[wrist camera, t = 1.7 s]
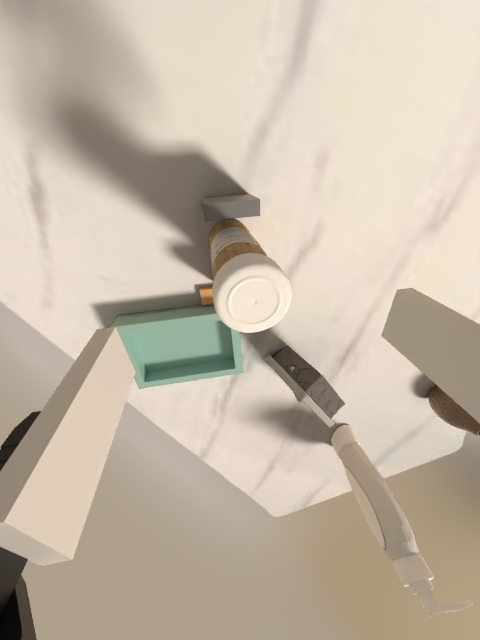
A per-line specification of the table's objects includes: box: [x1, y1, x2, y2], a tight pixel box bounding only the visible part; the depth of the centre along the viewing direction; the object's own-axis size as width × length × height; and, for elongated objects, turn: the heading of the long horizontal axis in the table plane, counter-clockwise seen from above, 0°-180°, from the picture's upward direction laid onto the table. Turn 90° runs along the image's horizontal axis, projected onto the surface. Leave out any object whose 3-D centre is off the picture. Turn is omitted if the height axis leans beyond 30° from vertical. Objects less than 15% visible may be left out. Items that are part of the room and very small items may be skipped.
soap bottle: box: [331, 425, 473, 617], centre depth 40 cm, size 13×8×24 cm, turn 12°
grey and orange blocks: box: [199, 194, 260, 306], centre depth 22 cm, size 11×8×5 cm
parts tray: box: [110, 304, 243, 389], centre depth 29 cm, size 10×14×2 cm
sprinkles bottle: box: [209, 220, 292, 333], centre depth 18 cm, size 5×5×13 cm
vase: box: [429, 386, 480, 436], centre depth 42 cm, size 7×7×9 cm
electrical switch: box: [265, 345, 345, 427], centre depth 32 cm, size 9×5×9 cm, turn 36°
